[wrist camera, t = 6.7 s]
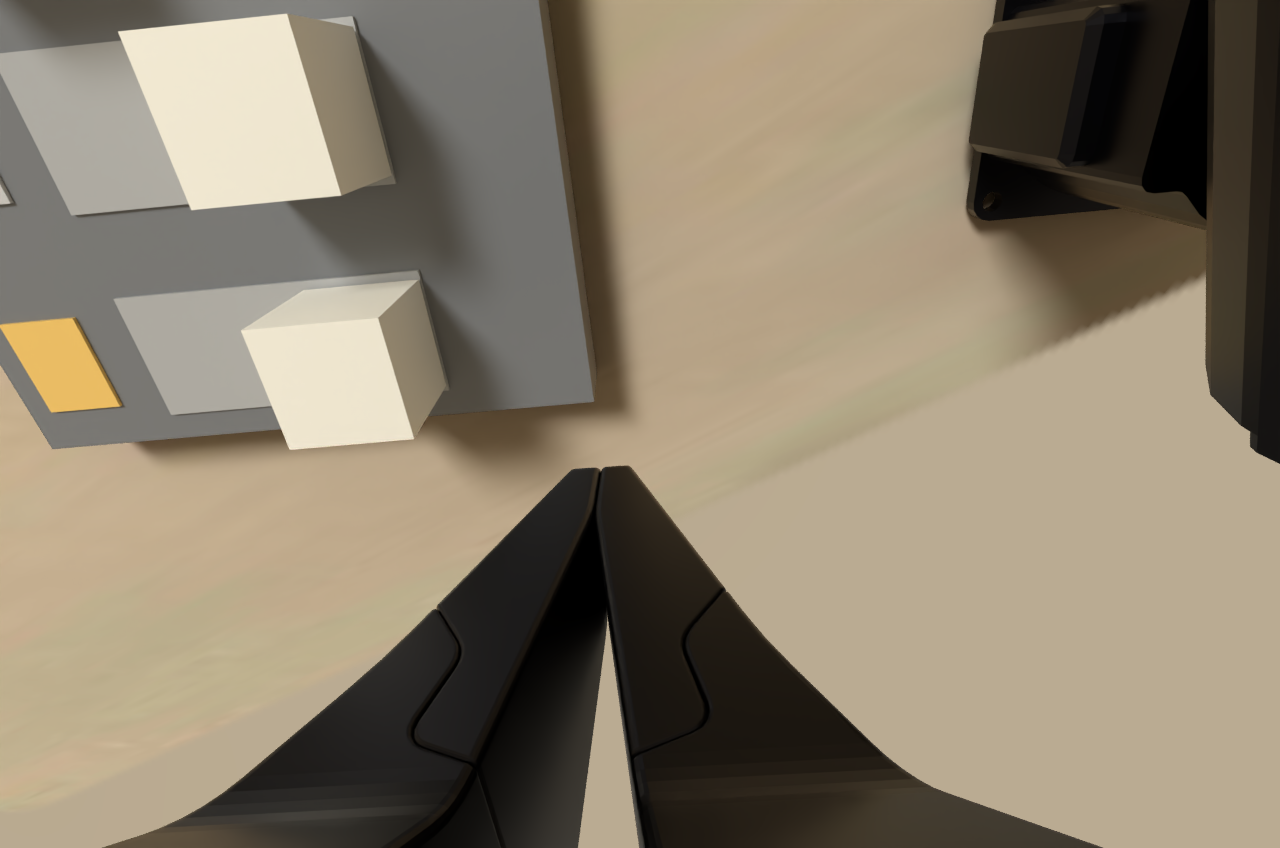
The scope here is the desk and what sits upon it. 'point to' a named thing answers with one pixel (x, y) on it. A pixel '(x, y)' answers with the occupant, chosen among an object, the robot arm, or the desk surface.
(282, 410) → the tab
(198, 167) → the tab
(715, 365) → the desk surface
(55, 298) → the switch panel
